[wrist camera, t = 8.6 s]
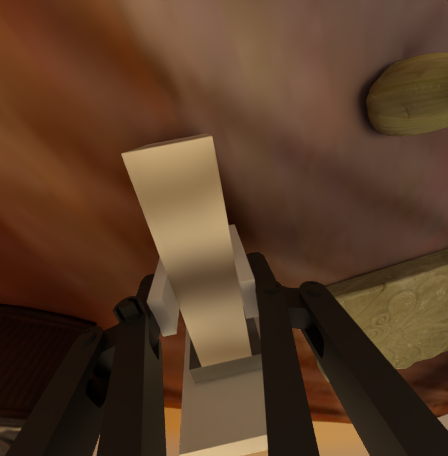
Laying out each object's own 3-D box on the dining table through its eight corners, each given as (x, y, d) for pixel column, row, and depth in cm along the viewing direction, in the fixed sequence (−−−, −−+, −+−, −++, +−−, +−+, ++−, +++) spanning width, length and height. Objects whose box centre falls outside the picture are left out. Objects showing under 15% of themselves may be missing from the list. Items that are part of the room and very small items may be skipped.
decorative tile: (299, 290, 26) (313, 313, 22) (459, 239, 25) (498, 256, 22) (314, 369, 34) (326, 394, 31) (434, 334, 33) (459, 356, 30)
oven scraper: (252, 317, 22) (266, 367, 17) (195, 330, 21) (195, 383, 17) (222, 130, 13) (234, 131, 9) (131, 147, 13) (97, 158, 9)
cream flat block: (255, 311, 26) (297, 443, 15) (192, 324, 25) (188, 469, 15) (253, 295, 24) (296, 427, 14) (187, 309, 24) (178, 455, 14)
